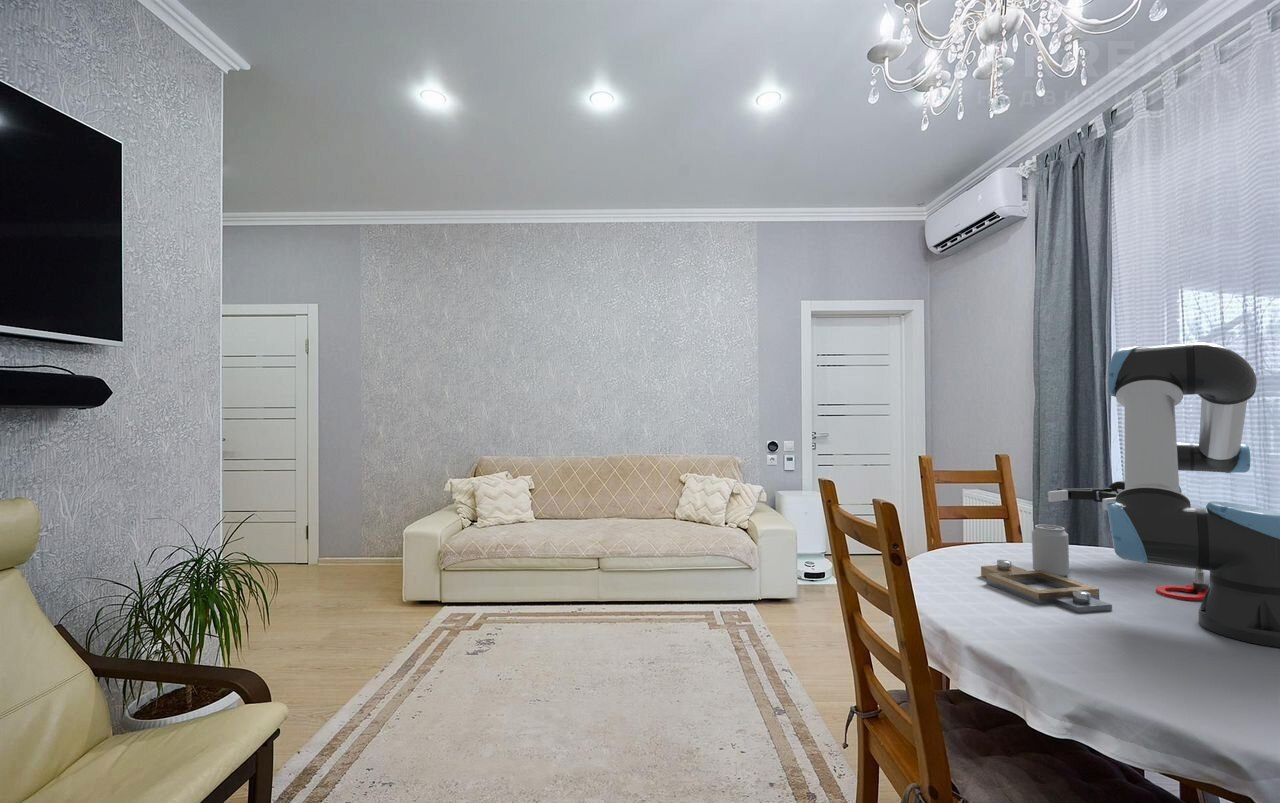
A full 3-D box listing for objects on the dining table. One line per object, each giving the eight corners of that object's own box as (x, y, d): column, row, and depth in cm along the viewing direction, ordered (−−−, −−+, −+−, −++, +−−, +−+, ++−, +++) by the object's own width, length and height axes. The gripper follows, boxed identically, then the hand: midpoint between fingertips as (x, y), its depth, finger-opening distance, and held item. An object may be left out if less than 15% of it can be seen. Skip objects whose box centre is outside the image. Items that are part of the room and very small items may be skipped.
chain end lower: (1126, 609, 119) (1126, 594, 119) (1063, 614, 117) (1063, 599, 117) (1041, 579, 140) (1041, 567, 140) (986, 583, 138) (986, 571, 138)
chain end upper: (1099, 599, 125) (1098, 580, 125) (1038, 604, 123) (1038, 585, 123) (1021, 572, 146) (1021, 556, 146) (968, 576, 144) (968, 559, 144)
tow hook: (1178, 603, 123) (1223, 601, 123) (1173, 543, 124) (1218, 541, 123) (1146, 591, 132) (1188, 589, 131) (1141, 535, 132) (1183, 532, 132)
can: (1067, 572, 146) (1066, 524, 146) (1070, 579, 140) (1069, 530, 140) (1032, 568, 150) (1031, 522, 150) (1033, 575, 144) (1032, 527, 144)
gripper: (1187, 516, 144) (1130, 524, 137) (1082, 501, 167) (1029, 507, 160) (1186, 486, 144) (1129, 492, 137) (1081, 475, 167) (1028, 480, 160)
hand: (1075, 500), depth 149 cm, fingers open, 13 cm apart
